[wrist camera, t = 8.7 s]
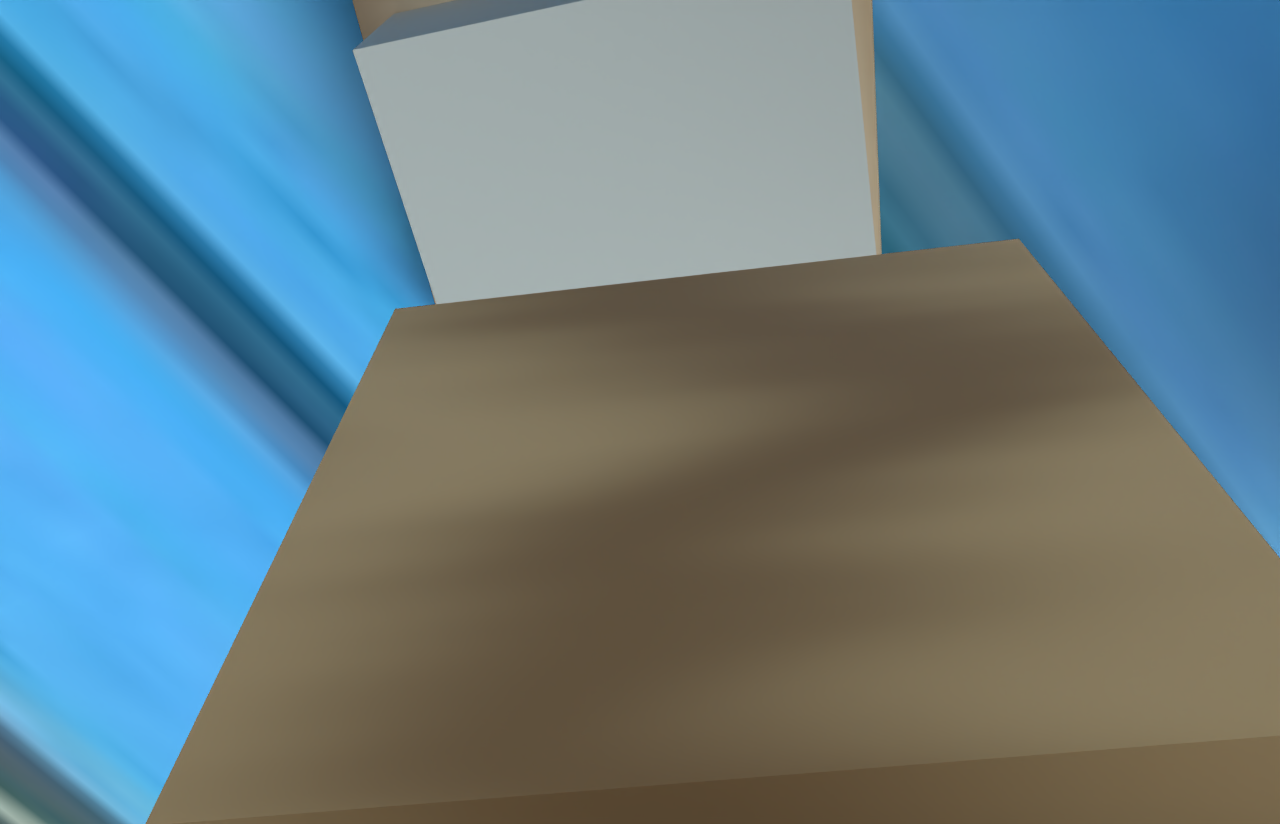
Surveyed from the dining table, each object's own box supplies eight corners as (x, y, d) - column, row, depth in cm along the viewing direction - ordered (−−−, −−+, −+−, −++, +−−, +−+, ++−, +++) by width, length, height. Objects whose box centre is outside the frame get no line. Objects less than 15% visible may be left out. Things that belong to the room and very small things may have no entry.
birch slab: (839, -142, 27) (867, -130, 23) (860, 291, 33) (885, 350, 29) (379, -65, 28) (341, -43, 24) (481, 341, 34) (462, 404, 30)
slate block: (818, -79, 24) (846, -57, 20) (861, 316, 29) (889, 388, 25) (394, 13, 25) (352, 50, 22) (505, 379, 30) (486, 456, 27)
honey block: (1019, 238, 10) (1413, 725, 5) (991, 698, 13) (1218, 1301, 8) (395, 308, 10) (144, 826, 5) (509, 738, 13) (422, 1336, 8)
